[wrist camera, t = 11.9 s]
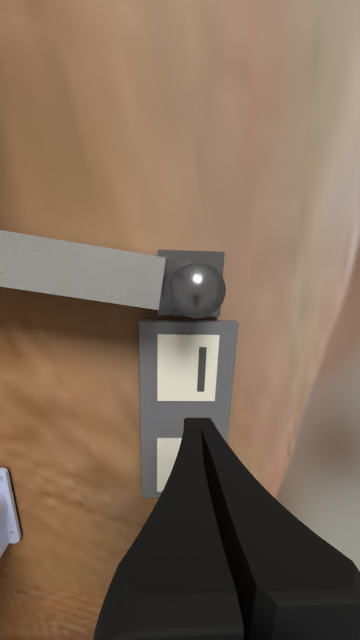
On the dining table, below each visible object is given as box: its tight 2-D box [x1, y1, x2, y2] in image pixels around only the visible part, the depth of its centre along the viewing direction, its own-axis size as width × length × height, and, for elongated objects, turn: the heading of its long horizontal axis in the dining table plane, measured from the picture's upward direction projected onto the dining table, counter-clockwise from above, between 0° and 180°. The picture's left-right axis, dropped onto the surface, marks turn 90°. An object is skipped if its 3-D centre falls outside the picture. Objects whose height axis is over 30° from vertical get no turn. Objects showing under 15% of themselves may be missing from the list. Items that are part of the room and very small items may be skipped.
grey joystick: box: [158, 250, 226, 318], centre depth 14 cm, size 5×5×6 cm
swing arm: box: [0, 230, 167, 310], centre depth 13 cm, size 20×3×3 cm, turn 81°
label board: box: [139, 319, 238, 498], centre depth 20 cm, size 18×8×1 cm, turn 178°
